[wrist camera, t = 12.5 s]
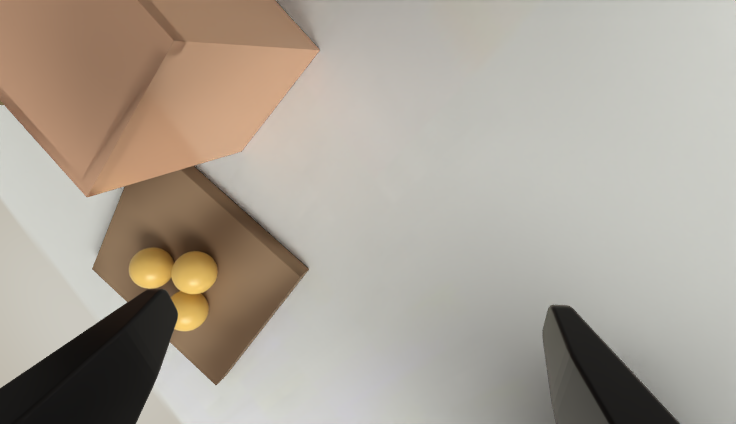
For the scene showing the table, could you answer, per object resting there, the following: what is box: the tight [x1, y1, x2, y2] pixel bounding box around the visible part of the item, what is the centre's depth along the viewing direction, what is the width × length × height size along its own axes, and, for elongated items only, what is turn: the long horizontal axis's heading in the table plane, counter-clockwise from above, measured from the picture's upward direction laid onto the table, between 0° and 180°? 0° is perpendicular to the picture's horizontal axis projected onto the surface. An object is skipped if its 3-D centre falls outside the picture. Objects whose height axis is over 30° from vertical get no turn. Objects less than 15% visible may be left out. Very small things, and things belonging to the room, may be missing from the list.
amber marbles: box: [129, 248, 218, 331], centre depth 25 cm, size 6×6×2 cm
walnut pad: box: [92, 166, 309, 385], centre depth 27 cm, size 12×12×1 cm
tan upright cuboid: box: [0, 0, 320, 197], centre depth 17 cm, size 7×7×9 cm
